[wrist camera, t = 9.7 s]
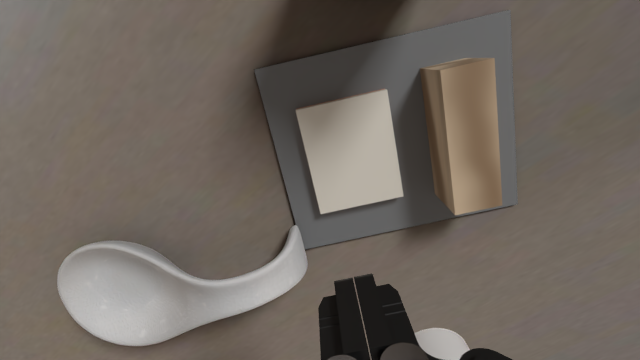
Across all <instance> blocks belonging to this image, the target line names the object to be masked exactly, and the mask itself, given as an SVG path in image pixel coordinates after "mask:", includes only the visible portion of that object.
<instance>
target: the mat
mask: <svg viewBox="0 0 640 360" xmlns="http://www.w3.org/2000/svg"><path fill="white" fill-rule="evenodd" d="M463 58H495V77H496V95H497V114H498V133H499V151H500V170H501V189H502V206H497V207H493V208H488V209H483V210H478V211H474V212H469V213H464V214H460V215H454V214H453V213H452V211H451V210H450V209H449V208H448V207H447V206H446V205H445V204H444V203H443V202H442V201H441V200H440V199H439V198H438V197H437V196H436V194H435V190H434V181H433V173H432V165H431V157H430V148H429V140H428V132H427V124H426V115H425V107H424V99H423V90H422V82H421V74H420V68H424V67H428V66H433V65H437V64H441V63H446V62H450V61H454V60H459V59H463ZM254 71H255V75H256V79H257V82H258V86H259V90H260V93H261V97H262V101H263V104H264V108H265V112H266V116H267V119H268V123H269V127H270V130H271V134H272V138H273V142H274V145H275V149H276V153H277V156H278V160H279V164H280V167H281V171H282V175H283V179H284V182H285V186H286V190H287V193H288V197H289V201H290V204H291V208H292V212H293V216H294V219H295V223H296V225H297V226H298V228H299V230H300V233H301V237H302V241H303V245H304V249H309V248H314V247H319V246H323V245H328V244H333V243H337V242H342V241H347V240H351V239H356V238H361V237H366V236H370V235H375V234H380V233H384V232H389V231H394V230H399V229H403V228H408V227H413V226H417V225H422V224H427V223H431V222H436V221H441V220H446V219H450V218H455V217H460V216H464V215H469V214H474V213H479V212H483V211H488V210H493V209H497V208H502V207H507V206H511V205H516V204H518V201H517V174H516V148H515V121H514V95H513V68H512V42H511V15H510V10H507V11H503V12H498V13H494V14H490V15H486V16H481V17H477V18H473V19H469V20H464V21H460V22H456V23H451V24H447V25H443V26H439V27H434V28H430V29H426V30H422V31H417V32H413V33H409V34H404V35H400V36H396V37H392V38H387V39H383V40H379V41H375V42H370V43H366V44H362V45H358V46H353V47H349V48H345V49H340V50H336V51H332V52H328V53H323V54H319V55H315V56H311V57H306V58H302V59H298V60H293V61H289V62H285V63H281V64H276V65H272V66H268V67H264V68H259V69H255V70H254ZM380 89H387V91H388V98H389V104H390V111H391V117H392V124H393V130H394V137H395V143H396V150H397V156H398V163H399V170H400V176H401V183H402V189H403V197H398V198H394V199H389V200H385V201H380V202H375V203H371V204H366V205H361V206H357V207H352V208H348V209H343V210H338V211H334V212H329V213H324V214H320V210H319V205H318V201H317V197H316V193H315V189H314V185H313V181H312V176H311V172H310V168H309V164H308V160H307V156H306V152H305V148H304V143H303V139H302V135H301V131H300V127H299V123H298V119H297V114H296V109H297V108H302V107H306V106H310V105H315V104H319V103H323V102H328V101H332V100H336V99H341V98H345V97H350V96H354V95H358V94H363V93H367V92H371V91H376V90H380Z"/></svg>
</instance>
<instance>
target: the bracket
mask: <svg viewBox="0 0 640 360" xmlns="http://www.w3.org/2000/svg"><path fill="white" fill-rule="evenodd" d="M414 334H415V336H416V339H417V341H418V344H419V346H420V347H421V348H422V349H423V350H424V351H425V352H426V353H427V354H429V355H431V356H433V357H435V358H438V359H443V360H460V358H461V356H462V355H463V354H464V353H465V352H467V351H469V350H470V349H469V347H468V346H467V344H466V342H465V340H464V339H463V338H462V337H461V336H460V335H458V334H457V333H455V332H453V331H451V330H448V329H443V328H430V329H425V330H421V331H418V332H416V333H414Z"/></svg>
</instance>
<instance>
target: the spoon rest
mask: <svg viewBox="0 0 640 360" xmlns="http://www.w3.org/2000/svg"><path fill="white" fill-rule="evenodd" d="M307 266H308V262H307V257H306V253H305V249H304V245H303V241H302V237H301V233H300V230H299V228H298V226H297V225H294V226H292V227H291V229H290V231H289V234H288V237H287V241H286V244H285V246H284V248H283V249H282V251H281V252H280V253H279V255H278V256H277V257H276V258H275V259H273V260H272V261H271V262H270V263H268V264H266V265H265V266H263V267H261V268H259V269H257V270H255V271H252V272H249V273H247V274H244V275H241V276H237V277H233V278H229V279H222V280H206V279H201V278H198V277H195V276H192V275H190V274H188V273H186V272H184V271H183V270H181V269H180V268H178V267H177V266H176V265H174V264H173V263H172V262H171V261H170V260H169V259H167V258H166V257H165V256H163V255H162V254H160V253H159V252H157V251H155V250H153V249H151V248H149V247H147V246H144V245H140V244H137V243H133V242H127V241H101V242H96V243H91V244H88V245H85V246H82V247H80V248H78V249H76V250H75V251H73V252H72V253H71V254H69V255H68V256H67V257H66V258H65V260H64V261H63V262H62V264H61V266H60V268H59V271H58V276H57V287H58V292H59V295H60V297H61V300H62V302H63V304H64V306H65V307H66V309H67V311H68V312H69V314H70V315H71V316H72V318H73V319H74V320H75V321H76V322H77V323H78V324H79V325H80V326H81V327H83V328H84V329H85V330H86V331H88V332H89V333H91V334H93V335H94V336H96V337H98V338H100V339H102V340H105V341H108V342H111V343H115V344H119V345H126V346H145V345H151V344H156V343H160V342H163V341H166V340H169V339H171V338H173V337H176V336H178V335H180V334H182V333H185V332H187V331H189V330H192V329H194V328H196V327H199V326H201V325H204V324H207V323H210V322H213V321H216V320H219V319H223V318H227V317H230V316H234V315H237V314H240V313H243V312H246V311H249V310H252V309H254V308H257V307H259V306H261V305H263V304H265V303H267V302H269V301H271V300H273V299H275V298H277V297H279V296H281V295H282V294H284V293H286V292H287V291H289V290H290V289H291V288H292V287H294V286H295V285H296V284H297V283H298V282H299V281H300V280H301V279H302V278H303V276H304V275H305V273H306V270H307Z"/></svg>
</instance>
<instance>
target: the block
mask: <svg viewBox="0 0 640 360" xmlns="http://www.w3.org/2000/svg"><path fill="white" fill-rule="evenodd" d="M420 74H421V82H422V90H423V99H424V107H425V115H426V124H427V132H428V140H429V148H430V157H431V165H432V173H433V181H434V190H435V194H436V196H437V197H438V198H439V199H440V200H441V201H442V202H443V203H444V204H445V205H446V206H447V207H448V208H449V209H450V210H451V211H452V213H453V214H454V215H460V214H464V213H469V212H474V211H478V210H483V209H488V208H493V207H497V206H502V189H501V170H500V151H499V133H498V114H497V95H496V77H495V58H463V59H459V60H454V61H450V62H446V63H441V64H437V65H433V66H428V67H424V68H420Z"/></svg>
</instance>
